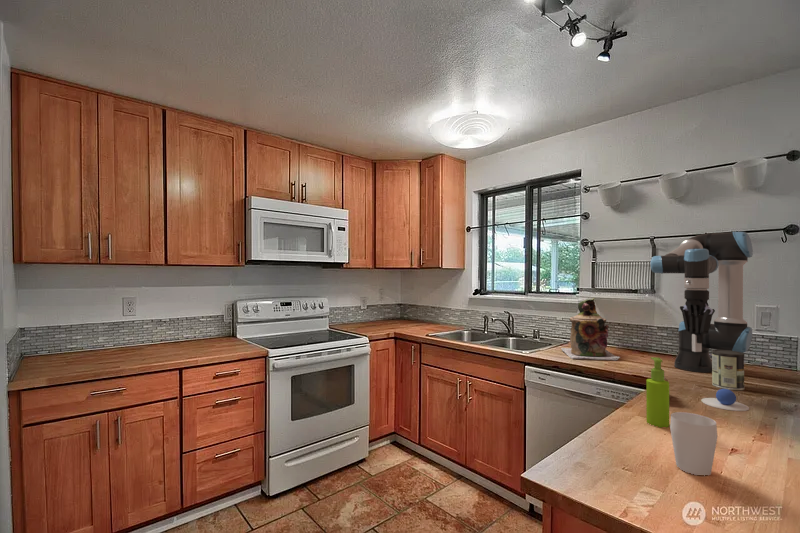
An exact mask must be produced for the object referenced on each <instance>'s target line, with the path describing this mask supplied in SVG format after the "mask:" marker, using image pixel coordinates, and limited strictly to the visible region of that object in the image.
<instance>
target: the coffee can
mask: <svg viewBox="0 0 800 533" xmlns="http://www.w3.org/2000/svg"><path fill="white" fill-rule="evenodd" d="M711 361H712V372H711V374H712V376H711V378H712V379H711V380H712V381H711V384H712V386H713V387H716V388H719V389H729V390H731V391H744V390H745V352H744V353H742V352H737V351H730V350H716V349H711Z"/></svg>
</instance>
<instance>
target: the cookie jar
mask: <svg viewBox="0 0 800 533" xmlns="http://www.w3.org/2000/svg"><path fill="white" fill-rule="evenodd" d="M595 299H596V298H595V297H593V298H592V299H591V298H590V299H585V300H582V301H580V302H579V303H578V305H577V307H578V312H579V313H578V314H576V315H574V316H570V318H569V320H570V322H571V328H570V337H569V341H570V347H567V348H566V347H561V348H560V349H561V352H564V354H565V355H566V356H568V357H569V358H570V359H572V360H573V359H588V360H599V361H601V360H604V361H605V360H606V361H609V360H610V361H618V360H620V358H621V357H620V356H618V355H615V354H613V353H612V352H610V351H609V350H608V349H607V347H608V338H609V329H610V328H609V325H608V324H606V322H607V319H606V318H604V317H602V316H601V315H600V314H599V313H598V312H597V306H596V304H595V302H596V301H595ZM605 324H606V325H605Z"/></svg>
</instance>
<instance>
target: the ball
mask: <svg viewBox="0 0 800 533" xmlns="http://www.w3.org/2000/svg"><path fill="white" fill-rule="evenodd" d="M715 393H716V394H715V398H717V400H718V401H719V402H720V403H722V404H724V405H732V404H734V403H735V402H737V396H736V394H735V392H734V391H733V390H729V389H723V388H719V389H717V391H716V392H715Z"/></svg>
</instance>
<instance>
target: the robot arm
mask: <svg viewBox="0 0 800 533" xmlns="http://www.w3.org/2000/svg"><path fill="white" fill-rule="evenodd" d="M753 250H754V249H753V243H752V240H751V237H750V235H749V234H748V232H746V231H727V232H723V231H722V232H711V233H709V232H708V233H707V232H706V233H702V234H698V235H695V236H692V237H689V238H687V239H685V240H684V241H682V242H681V243H680V244H679V246H678V247H676V248H674V249H673V250H671V251H669V252H668V253H666V254H665V255H654V256H652V257H651V259H650V269H651V272H652V273H654V274H684V288H685V289H684V294H683V295H684V296H683V297H684V299H685V300H686V301H685V304H684V305H682V306H679V309H680V312H681V314H682V319H683V321H680V322H679V323H678V352H677V355H676V357H675V359H674V367H675V369H679V370H683V371H687V372H696V373H697V372H698V373H712V357H711V356H710V349H711V350H730V351H737V352H742V353H744V354H745V353H746V352H748V350H749V348H750V347H751V343H752V339H753V328H752V327H750V326H748V321H746V320H745V319H744V298H743V297H744V265H745V264H746V263H748V260H749V259H748V258H752V257H753V256H754V255H753V252H754V251H753ZM716 271H718V280H717V281H718V287H717V288H718V289H717V290H718V293H717V294H718V300H717V301H718V302H717V304H718V307H717V309H718V310H717V311H718V312H717V317H716V318H715V319H713V323H711V322H712V317H713V315H714V313H715V312H716V310H715V308H710V306H709V303H708V300H710V290H709V289H710V274H712V273H714V272H716Z"/></svg>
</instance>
